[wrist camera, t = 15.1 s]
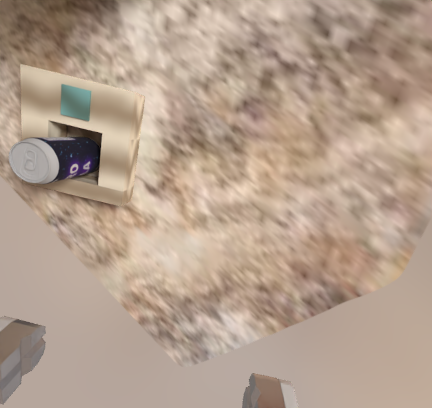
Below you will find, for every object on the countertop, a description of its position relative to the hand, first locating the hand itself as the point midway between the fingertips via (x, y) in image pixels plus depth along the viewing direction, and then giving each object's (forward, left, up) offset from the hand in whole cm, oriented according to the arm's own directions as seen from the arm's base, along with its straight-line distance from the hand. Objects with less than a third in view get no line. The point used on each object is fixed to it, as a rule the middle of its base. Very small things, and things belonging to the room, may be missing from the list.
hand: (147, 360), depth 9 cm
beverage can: (-1, -21, -31) cm, 38 cm away
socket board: (-3, -21, -31) cm, 38 cm away
